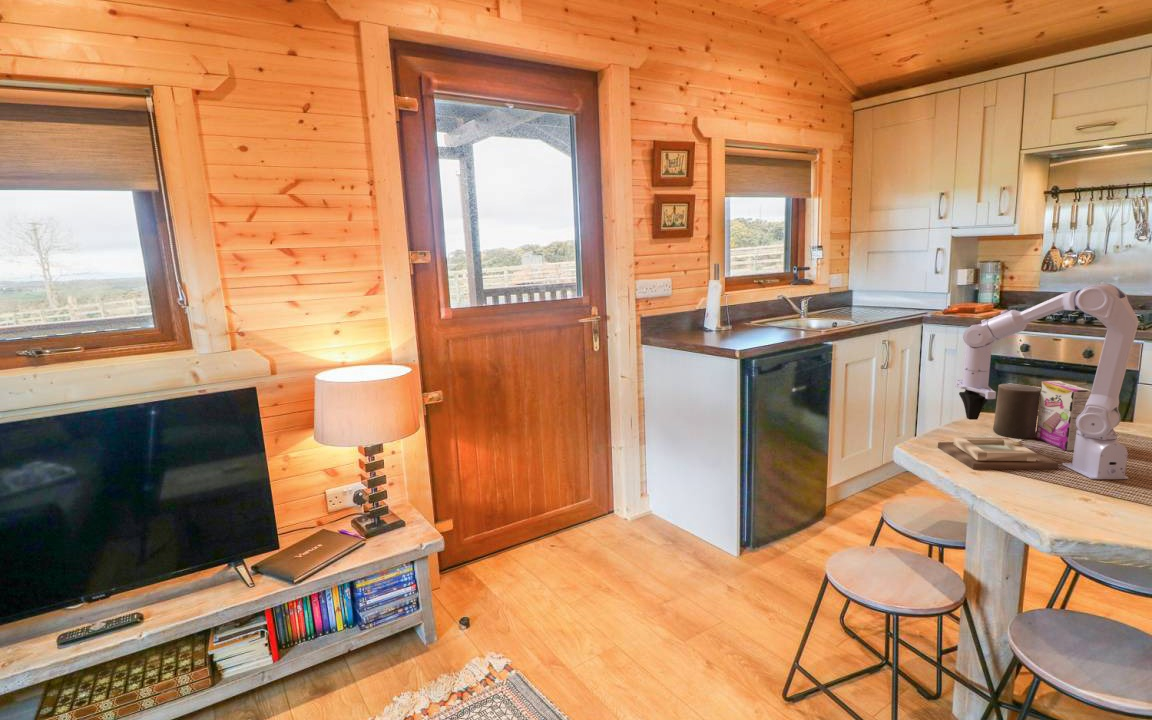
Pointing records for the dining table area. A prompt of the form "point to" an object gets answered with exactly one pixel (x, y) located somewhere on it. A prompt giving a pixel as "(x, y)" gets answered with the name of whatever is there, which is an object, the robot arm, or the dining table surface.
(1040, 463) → the walnut board
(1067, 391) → the candy bar box
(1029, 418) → the pillar candle
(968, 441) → the cabinet door with knob
